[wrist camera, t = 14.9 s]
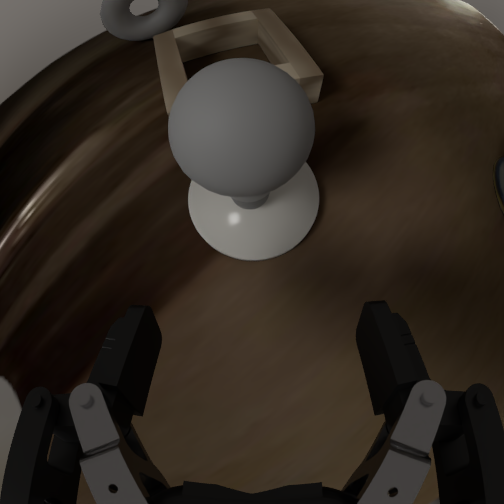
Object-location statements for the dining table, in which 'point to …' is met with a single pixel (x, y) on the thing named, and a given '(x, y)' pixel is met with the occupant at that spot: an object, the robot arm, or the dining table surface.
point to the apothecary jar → (499, 181)
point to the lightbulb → (241, 129)
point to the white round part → (257, 219)
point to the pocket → (229, 37)
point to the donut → (140, 19)
